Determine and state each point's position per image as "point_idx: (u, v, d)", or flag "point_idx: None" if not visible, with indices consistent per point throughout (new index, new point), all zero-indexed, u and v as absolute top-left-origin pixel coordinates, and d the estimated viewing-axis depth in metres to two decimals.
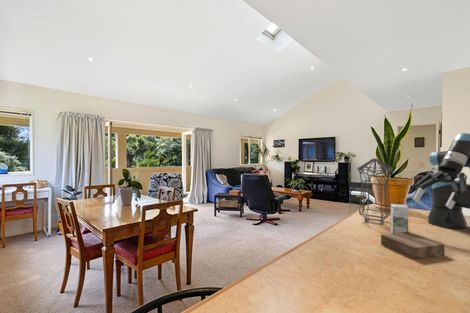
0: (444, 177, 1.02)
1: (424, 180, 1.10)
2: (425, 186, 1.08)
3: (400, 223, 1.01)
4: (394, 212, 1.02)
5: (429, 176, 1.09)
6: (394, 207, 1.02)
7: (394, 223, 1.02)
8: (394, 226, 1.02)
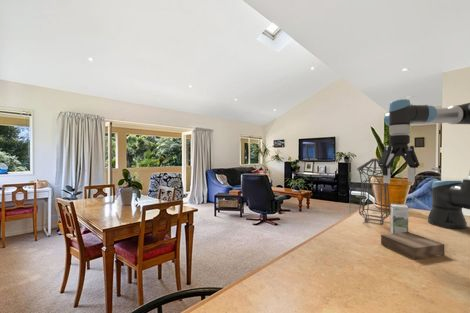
0: None
1: None
2: (410, 163, 1.05)
3: (400, 223, 1.01)
4: (394, 212, 1.02)
5: (408, 152, 1.06)
6: (394, 207, 1.02)
7: (394, 223, 1.02)
8: (394, 226, 1.02)
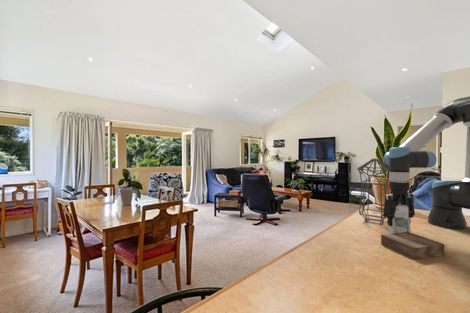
0: None
1: None
2: None
3: (400, 223, 1.01)
4: None
5: (407, 199, 1.06)
6: None
7: None
8: None
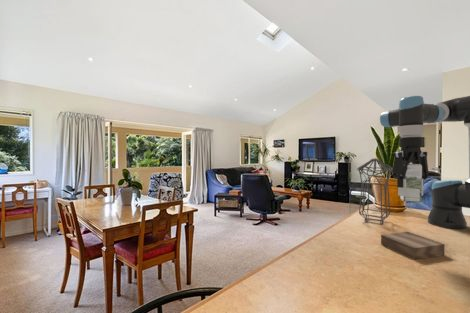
0: None
1: None
2: None
3: (412, 184, 0.88)
4: None
5: None
6: None
7: None
8: None
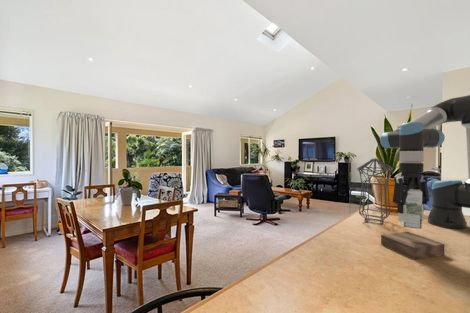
0: None
1: None
2: None
3: (412, 210, 0.88)
4: None
5: None
6: None
7: None
8: None
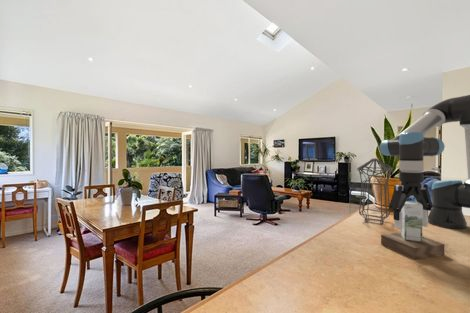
0: None
1: (423, 197, 0.92)
2: None
3: (413, 224, 0.88)
4: (406, 211, 0.89)
5: (421, 191, 0.92)
6: (406, 205, 0.89)
7: (406, 224, 0.89)
8: (406, 227, 0.89)
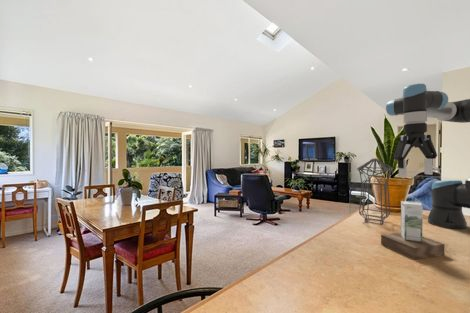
0: None
1: None
2: (427, 154, 0.96)
3: (413, 224, 0.88)
4: (406, 211, 0.89)
5: (425, 142, 0.96)
6: (406, 205, 0.89)
7: (406, 224, 0.89)
8: (406, 227, 0.89)
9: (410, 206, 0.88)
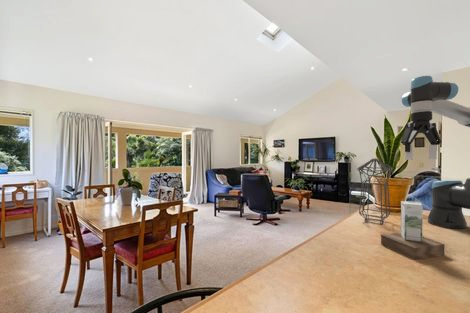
0: None
1: None
2: (431, 141, 1.05)
3: (413, 224, 0.88)
4: (406, 211, 0.89)
5: None
6: (406, 205, 0.89)
7: (406, 224, 0.89)
8: (406, 227, 0.89)
9: (410, 206, 0.88)
